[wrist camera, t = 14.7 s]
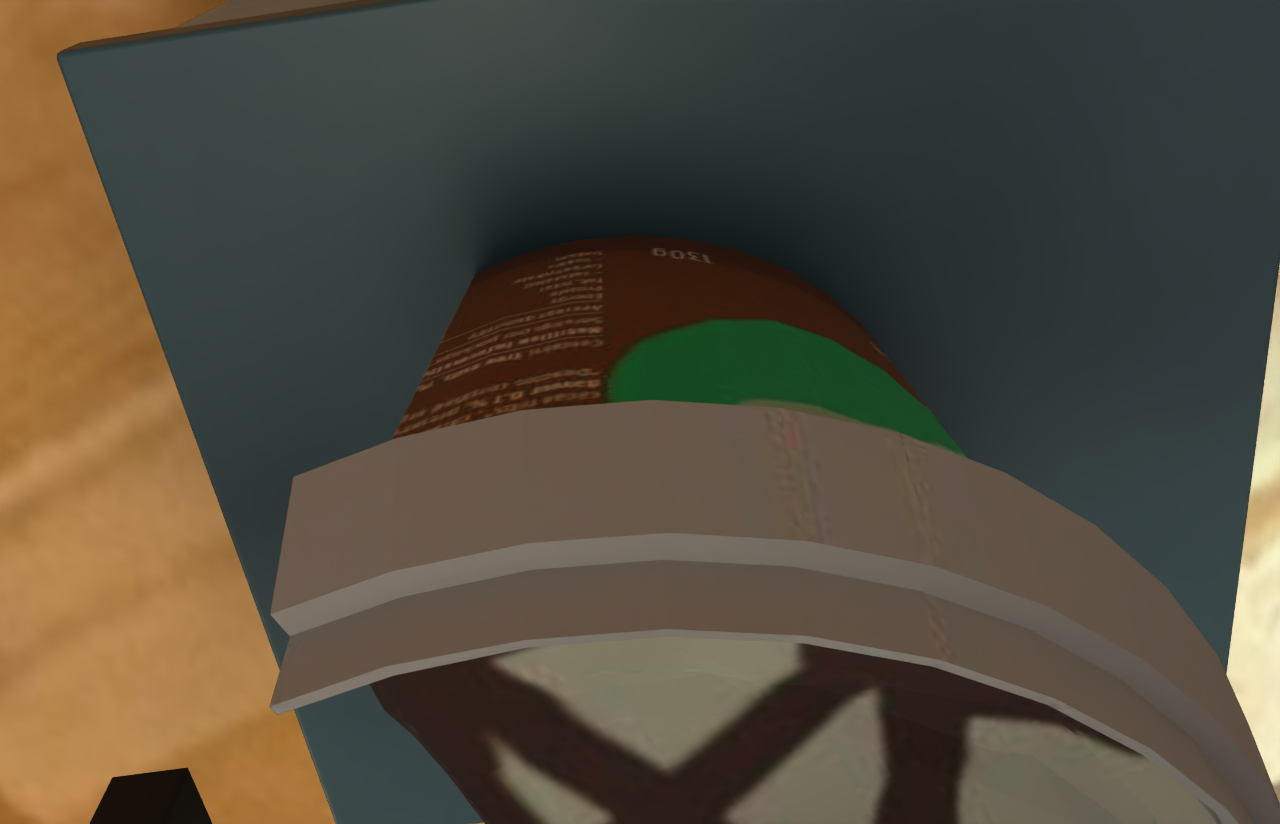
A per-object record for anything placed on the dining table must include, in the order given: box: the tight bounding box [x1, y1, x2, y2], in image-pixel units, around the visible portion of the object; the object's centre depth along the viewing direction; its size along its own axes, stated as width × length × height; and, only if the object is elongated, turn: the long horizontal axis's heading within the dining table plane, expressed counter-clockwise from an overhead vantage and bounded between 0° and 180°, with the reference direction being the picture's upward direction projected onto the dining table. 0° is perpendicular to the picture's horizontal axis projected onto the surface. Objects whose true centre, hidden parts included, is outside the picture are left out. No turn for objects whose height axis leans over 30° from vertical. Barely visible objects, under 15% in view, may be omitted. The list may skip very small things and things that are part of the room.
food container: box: [270, 236, 1280, 824], centre depth 14 cm, size 12×6×10 cm, turn 26°
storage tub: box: [57, 0, 1280, 824], centre depth 21 cm, size 17×15×7 cm
